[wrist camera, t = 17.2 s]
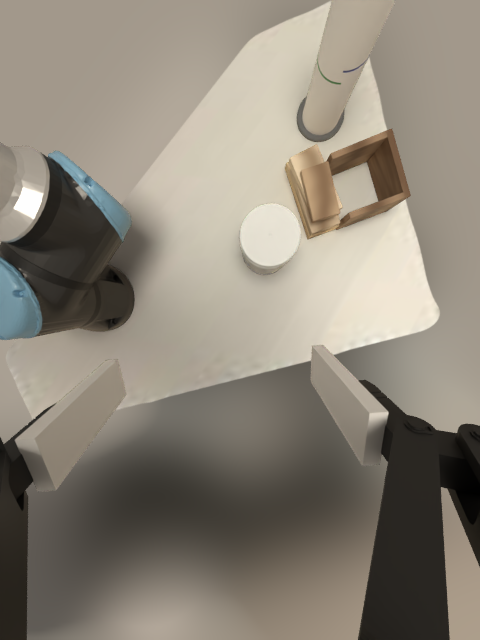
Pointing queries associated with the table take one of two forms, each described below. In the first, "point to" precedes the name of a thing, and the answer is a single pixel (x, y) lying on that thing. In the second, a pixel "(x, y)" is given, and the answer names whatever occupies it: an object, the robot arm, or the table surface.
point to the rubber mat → (311, 136)
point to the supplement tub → (269, 238)
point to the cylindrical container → (342, 59)
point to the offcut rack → (316, 175)
